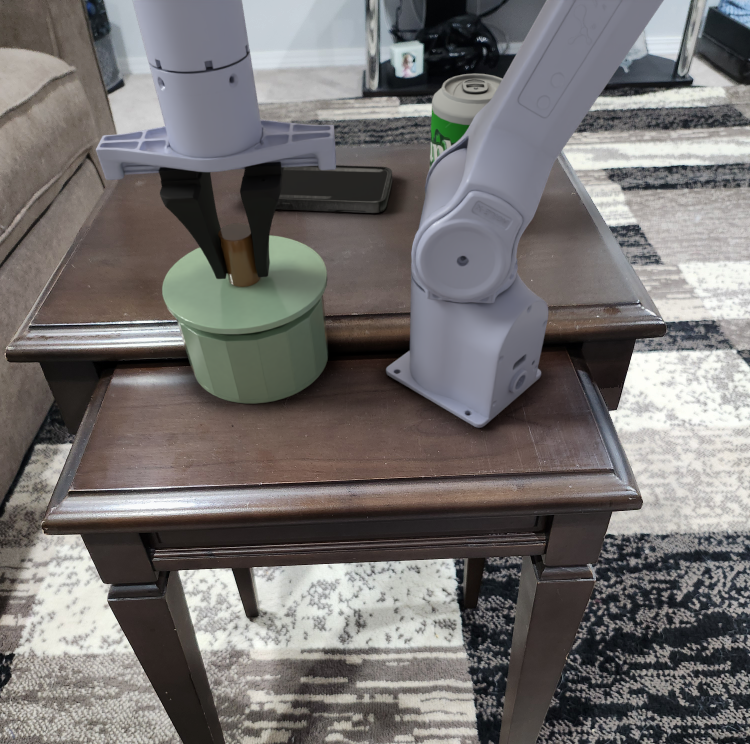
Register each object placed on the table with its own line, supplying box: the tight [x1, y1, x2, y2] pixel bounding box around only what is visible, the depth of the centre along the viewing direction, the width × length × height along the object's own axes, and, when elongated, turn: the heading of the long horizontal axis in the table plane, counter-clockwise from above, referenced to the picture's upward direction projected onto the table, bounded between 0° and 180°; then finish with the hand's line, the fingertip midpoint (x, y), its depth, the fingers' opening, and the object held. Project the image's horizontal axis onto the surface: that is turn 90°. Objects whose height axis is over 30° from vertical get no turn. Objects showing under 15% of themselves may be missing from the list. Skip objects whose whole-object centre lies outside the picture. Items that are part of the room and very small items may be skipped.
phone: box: [275, 164, 393, 214], centre depth 71 cm, size 8×1×15 cm
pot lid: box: [161, 222, 328, 334], centre depth 48 cm, size 12×12×5 cm
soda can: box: [429, 73, 503, 169], centre depth 63 cm, size 8×8×12 cm
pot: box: [175, 294, 329, 404], centre depth 52 cm, size 11×11×6 cm
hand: (243, 270), depth 48 cm, fingers closed on pot lid, 2 cm apart
